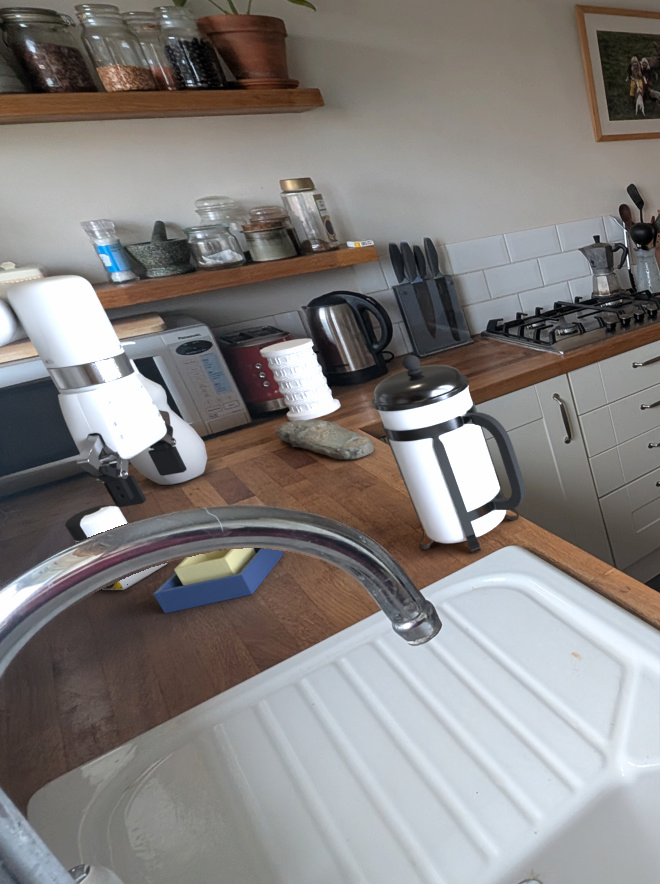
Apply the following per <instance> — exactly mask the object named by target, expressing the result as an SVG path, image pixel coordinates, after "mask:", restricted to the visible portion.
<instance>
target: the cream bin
mask: <svg viewBox="0 0 660 884" xmlns="http://www.w3.org/2000/svg"><path fill="white" fill-rule="evenodd" d="M255 555H256V552H255V550H254V548H243V549H231V550H222V551H214V552H210V553H206V554H199V555H196V556H192V557H187V556H186V557H185V558H183V560H182V561H181V562H180V563H179V564H178V565H177V566H176V567H175V568H174V570H173V571H174V573H175V572H176V574H177V575H178V577H179V579H180V581H181V582H182V584H183V586H184V585H189V584H194V583H198V582H203V581H208V580H212V579H217V578H222V577H226V576H231V575H236V574H239V573H240V572H241V571H242V570H243V569H244V568H245V566H246V565H247V564H248V563H249V562H250V561H251V559H252V558H253V557H254V556H255Z"/></svg>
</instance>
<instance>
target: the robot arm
mask: <svg viewBox="0 0 660 884" xmlns="http://www.w3.org/2000/svg"><path fill="white" fill-rule="evenodd" d="M26 338H29V340H30V342H31V343H32V345H33V347H34V349H35V351H36V353H37V355H38V357H39V358H40V360H41V362H42V364H43V365H44V367H45V368H46V371H47V373H48V374H49V376H50V378H51V381H52V382H53V384H54V386H55V387H56V388H57V390H58V394H57V398H58V403H59V407H60V410H61V414H62V416H63V419H64V421H65V423H66V426H67V429H68V431H69V433H70V436H71V437H72V439H73V441H74V445H75V446H76V448H77V450H78V452H79V454H78V457H77V458H76V464H77V465H78V466H79V468H81V469H83V470H84V471H86V472H87V474H88V476H89V477H91V478H94V479H96V481H97V482H98V483H101V484H102V483H103V485H104V487H105V489H106V491H107V493H108V494H109V496H110V499H112V501H113V503H114V505H115V506H117V507H119V508H124V507H130V506H136V505H143V504H144V503H145V502H146V501H147V498H146V496H145V494H144V492H143V490H142V488H141V487H140V485H139V483H138V480H137V479H136V477H135V475H134V474H131V475H130V474H129V467H130V465H129V464H130V461H129V459H130V458H133V457H134V456H136V455H138V454H139V453H141V452H142V451H144V450H145V449H147V448H151V449H154V450H149V451H148V453H149V455H150V457H151V459H152V461H153V462H154V464H155V466H156V468H157V470H158V472H159V474H160V475H162V476H165V475H171V474H177V473H182V472H184V471H186V470H187V468H186V466H185V464H184V462H183V460H182V458H181V456H180V454H179V452H178V450H177V448H176V446H175V445H176V440H175V439H174V438H173V427H172V426H171V423H170V416H169V413H168V412H167V411H161V410H158V409H157V407H156V405H155V403H154V402H153V400H152V398H151V397H150V395H149V393H148V392H147V390H146V389H145V387H144V386H143V384H142V383H141V381H140V380H139V379H138V377H137V376H136V373H135V371H134V369H133V367H132V365H131V363H130V361H129V359H130V358H129V356H128V355H127V352H126V351H125V349H124V348H123V346H122V345H121V343H120V342H121V341H120V339H119V336H118V335H117V333H116V330H115V328H114V326H113V324H112V322H111V321H110V319H109V316H108V315H107V312H106V311H105V308H104V306H103V305H102V303H101V301H100V299H99V297H98V294H97V292H96V290H95V289H94V287H93V286H92V284H91V283H90V281H89V280H88V279H86V278H84V277H83V276H80V275H76V274H62V275H61V274H60V275H52V276H46V277H38V278H33V279H32V278H31V279H27V280H23V281H19V282H3V283H0V348H1V347H3V346H6V345H9V344H11V343H13V342H16V341H19V340H23V339H26ZM111 464H116V468H114V467H112V466H110V465H111Z"/></svg>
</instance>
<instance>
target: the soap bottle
mask: <svg viewBox="0 0 660 884" xmlns="http://www.w3.org/2000/svg"><path fill="white" fill-rule="evenodd" d="M120 343H121V345H122V347H123V346H127V345H136V341H131V340H127V341H126V340H125V341H120ZM128 359H129V361H130V363H131V365H132V367H133V369H134V371H135V373H136V376H137V377H138V379H139V380H140V381H141V383H142V384H143V386H144V387H145V389H146V390H147V392H148V393H149V395H150V397H151V398H152V400H153V402H154V403H155V405H156V407H157V409H158V410H161V411H167V412H168V413H169V416H170V423H171V426H172V427H173V438H174V439H175V440H176V445H175V446H176V448H177V450H178V452H179V454H180V456H181V458H182V460H183V462H184V464H185V466H186V468H187V470H186V471H184V472H182V473H177V474H171V475H165V476H162V475H160V474H159V472H158V470H157V468H156V466H155V464H154V462H153V461H152V459H151V457H150V455H149V453H148V451H149V450H154V449H151V448H147V449H145V450H144V451H142V452H141V453H139V454H138V455H136V456H134V457H133V458H130V459H129V464H131V465H132V466H133V467H134V468H135V469H136V470H137V472H139V473H140V475H142V476H144V477H145V478H147V479H148V480H150V481H152V482H153V483H156V484H158V485H175V484H180V483H184V482H187V481H189V480H192V479H194V478H197V477H199V476H201V475H203V474H204V472H206V471H205V470H206V466H207V463H208V462H207V461H208V454H207V450H206V444H205V441H204V440H203V439H202V438H201V436H200V435H199V434H198V433H197V432H196V430H195V429H194V427H192V426H191V425H190V424H189V423H187V422H186V421H185V420H184V419H183V418H181V417H180V416H179V415H178V414H177V413H176V412H175V411H174V410H173V409H171V407H170V405H169V403H168V396H167V392H166V390H165V389H164V387H163V386H162V385H161V384H159V383H157V382H155V381H153V380H151V379H149V378H147V377H145V376H144V375H143V374H142V373H141V372H140V371H139V369H138V367H137V366H136V364H135V362H134V360H133V359H132V358H128Z"/></svg>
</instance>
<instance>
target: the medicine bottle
mask: <svg viewBox="0 0 660 884" xmlns="http://www.w3.org/2000/svg"><path fill="white" fill-rule="evenodd" d="M127 523H128V521H127V519H126V518H125V516H124V514H123V512H122V511H121V509H120V507H117V506H116V505H115V504H103V505H97V506H93V507H91V508H90V507H89V508H87V509H84V510H82V511H79V512H78V513H75V514H74V515H72V516H71V517H70V518H69V519H68V520H66V522H65V524H64V526H65V528H66V529H67V531H68V533H69V534H70V535H71V537H72V538H73V540H74V542H75V543H76V542H79V541H81V540H83V539H86V538H88V537H91V536H93V535H96V534H98V533H101V532H105V531H107V530H110V529H113V528H115V527H118V526H121V525H124V524H127ZM166 565H168V563H165V564H161V565H159V566H155V567H151V568H149V569H146V570H144V571H141V572H139V573H136V574H133V575H131V576H129V577H126V578H125V579H122V580H120V581H118V582H116V583H114V584H112V585H110V586H107V587H106V588H104V589H102V590H103V591H125V590H126V589H128V588H130V587H133V585H135V584H137V583H139V582H140V581H142V580H143V579H145V578H147V577H149V576H150V575H152V574H153V573H155V572H156V571H159V570H160V569H161V568H163V567H165V566H166ZM127 584H128V585H127ZM120 587H122V588H120ZM102 590H101V591H102Z"/></svg>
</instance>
